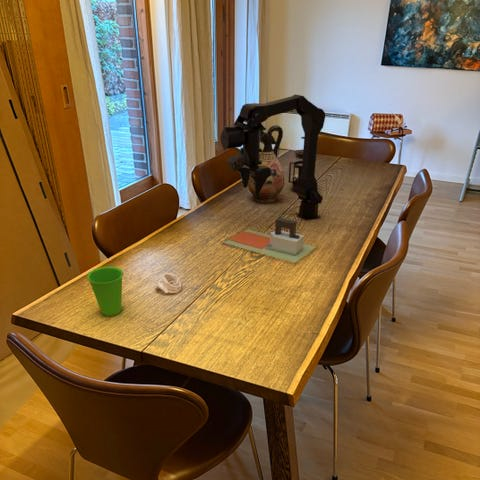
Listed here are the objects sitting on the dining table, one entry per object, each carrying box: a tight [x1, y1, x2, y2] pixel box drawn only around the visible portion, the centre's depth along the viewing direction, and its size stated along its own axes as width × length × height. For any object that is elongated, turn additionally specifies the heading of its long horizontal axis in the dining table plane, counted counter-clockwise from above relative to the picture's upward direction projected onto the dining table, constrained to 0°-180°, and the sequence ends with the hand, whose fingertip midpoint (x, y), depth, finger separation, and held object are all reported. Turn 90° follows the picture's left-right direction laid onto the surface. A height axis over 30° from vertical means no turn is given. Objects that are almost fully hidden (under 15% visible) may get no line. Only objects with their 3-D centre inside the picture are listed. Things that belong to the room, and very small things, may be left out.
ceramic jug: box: [247, 124, 285, 204], centre depth 195 cm, size 17×15×30 cm
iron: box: [266, 217, 305, 256], centre depth 156 cm, size 11×6×10 cm, turn 60°
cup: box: [86, 266, 124, 317], centre depth 123 cm, size 9×9×11 cm
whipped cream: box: [155, 272, 182, 294], centre depth 135 cm, size 8×7×5 cm
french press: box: [288, 136, 304, 193], centre depth 208 cm, size 12×9×23 cm
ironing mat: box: [223, 228, 317, 264], centre depth 162 cm, size 28×15×1 cm, turn 56°
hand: (251, 191), depth 167 cm, fingers open, 9 cm apart
